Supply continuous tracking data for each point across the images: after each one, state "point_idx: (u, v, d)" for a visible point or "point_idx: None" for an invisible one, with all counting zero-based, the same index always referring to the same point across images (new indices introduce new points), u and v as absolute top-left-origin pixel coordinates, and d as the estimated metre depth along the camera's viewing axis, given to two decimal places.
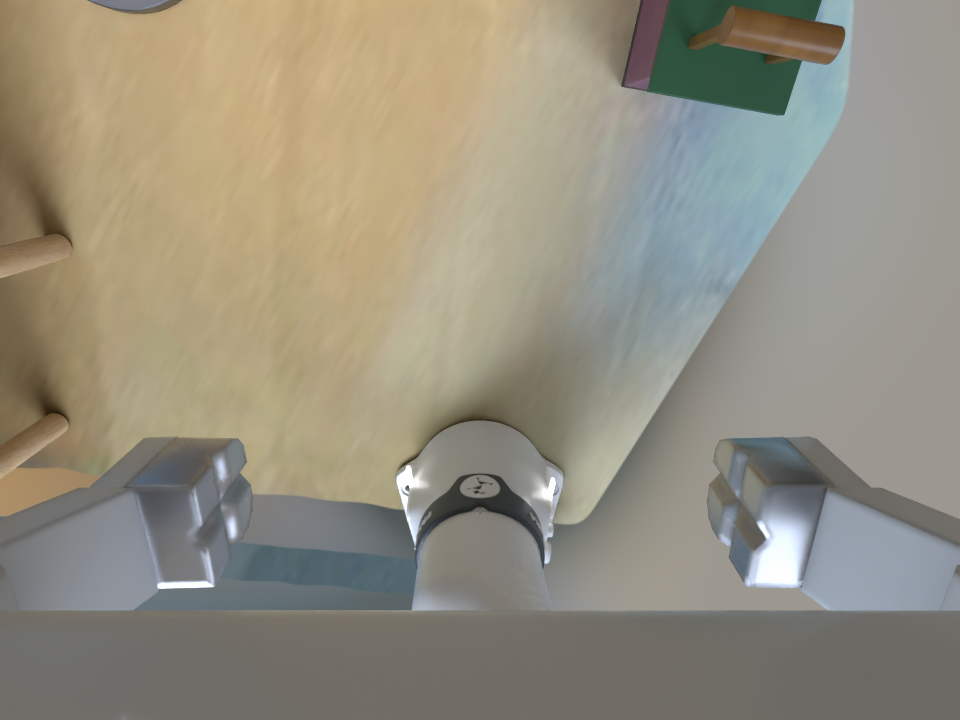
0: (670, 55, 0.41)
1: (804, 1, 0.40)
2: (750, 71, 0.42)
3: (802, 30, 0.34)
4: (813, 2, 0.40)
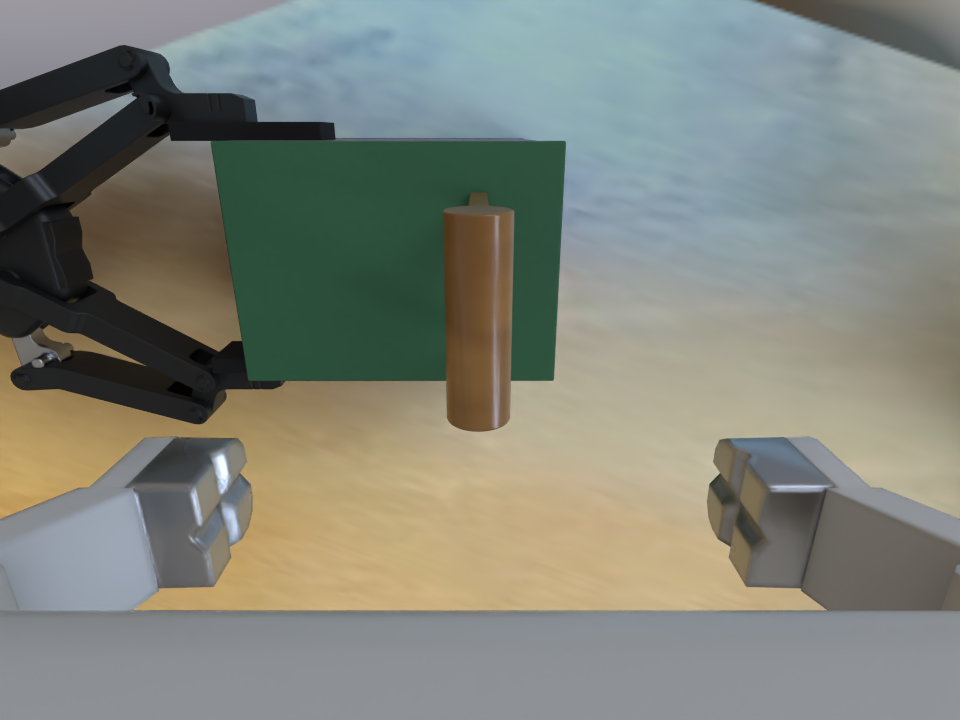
0: None
1: (384, 172, 0.23)
2: None
3: (469, 305, 0.17)
4: (382, 155, 0.23)
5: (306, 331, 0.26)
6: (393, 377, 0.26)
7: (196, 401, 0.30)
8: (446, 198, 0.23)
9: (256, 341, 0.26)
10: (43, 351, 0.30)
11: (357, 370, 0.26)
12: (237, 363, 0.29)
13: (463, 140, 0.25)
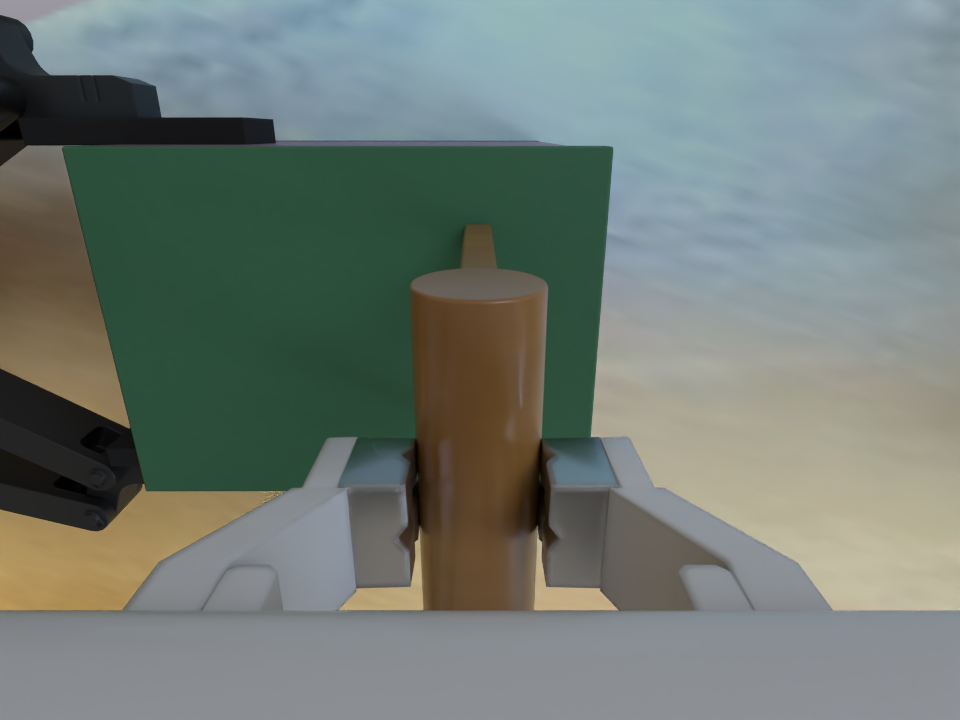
0: None
1: (333, 193, 0.15)
2: None
3: (461, 466, 0.09)
4: (329, 168, 0.15)
5: (226, 424, 0.17)
6: None
7: (92, 500, 0.22)
8: (429, 233, 0.15)
9: (153, 438, 0.18)
10: None
11: (303, 477, 0.18)
12: None
13: None
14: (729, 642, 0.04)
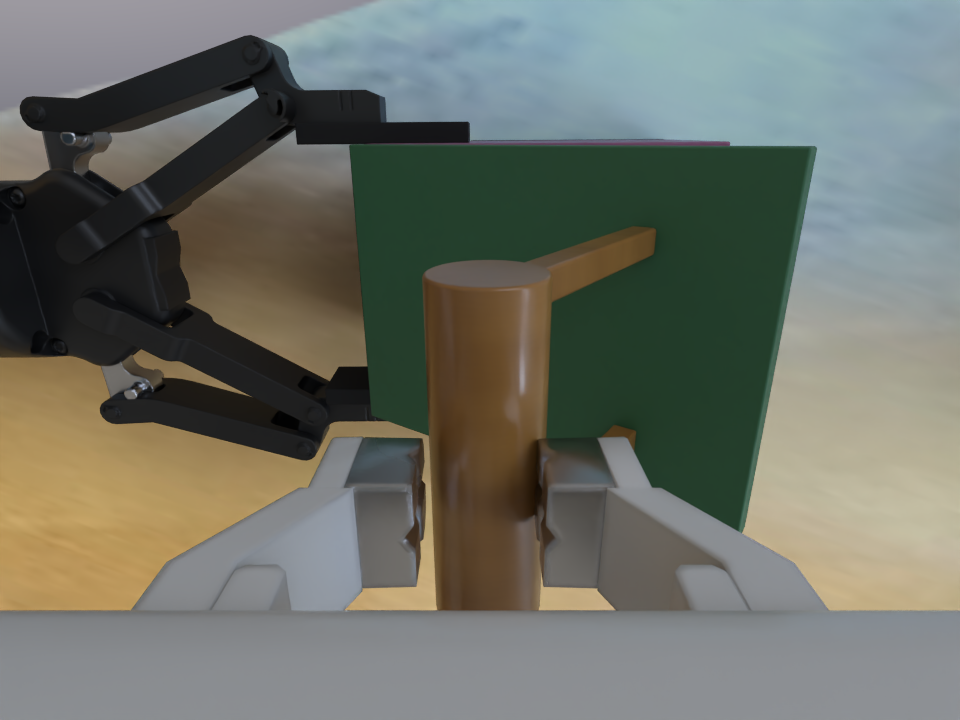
0: None
1: (518, 188, 0.16)
2: (678, 291, 0.15)
3: (441, 435, 0.10)
4: (517, 165, 0.16)
5: (424, 377, 0.21)
6: None
7: (304, 435, 0.27)
8: (596, 232, 0.15)
9: (379, 375, 0.22)
10: (136, 380, 0.27)
11: None
12: (354, 393, 0.26)
13: None
14: (729, 642, 0.04)
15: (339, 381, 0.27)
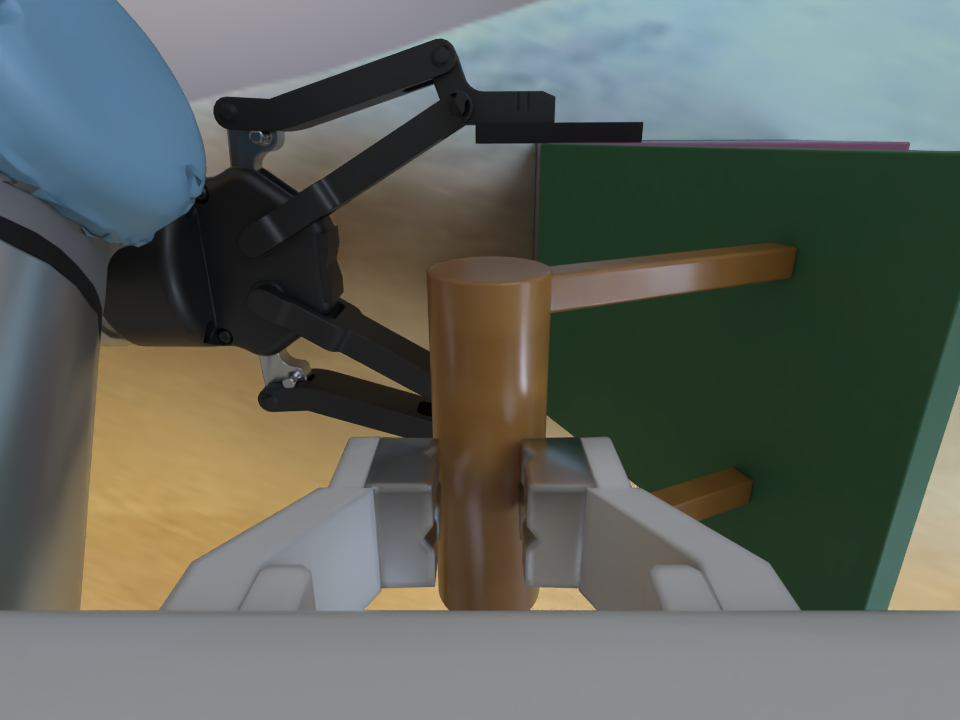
0: (763, 555, 0.14)
1: (668, 192, 0.15)
2: (815, 325, 0.12)
3: None
4: (669, 168, 0.15)
5: (573, 375, 0.21)
6: (633, 479, 0.19)
7: None
8: (735, 246, 0.14)
9: None
10: (291, 370, 0.28)
11: None
12: None
13: None
14: (728, 642, 0.04)
15: None
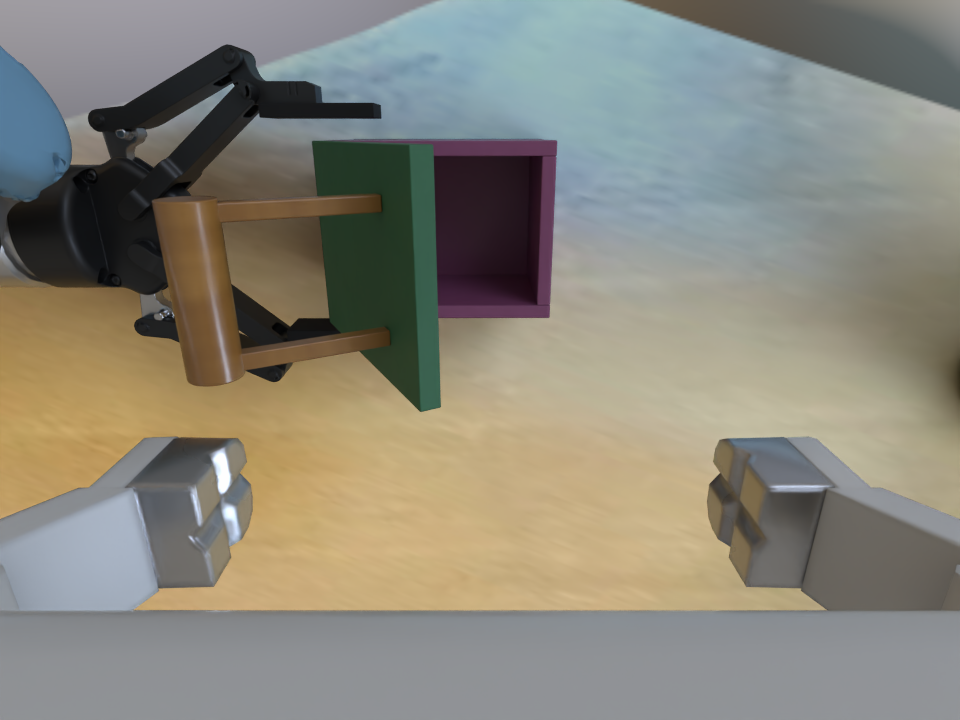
0: (397, 373, 0.25)
1: (350, 169, 0.26)
2: (390, 235, 0.23)
3: None
4: (348, 154, 0.26)
5: (339, 294, 0.32)
6: (363, 353, 0.29)
7: None
8: None
9: (329, 293, 0.34)
10: (162, 308, 0.38)
11: None
12: (307, 333, 0.38)
13: None
14: (729, 642, 0.04)
15: (297, 326, 0.39)
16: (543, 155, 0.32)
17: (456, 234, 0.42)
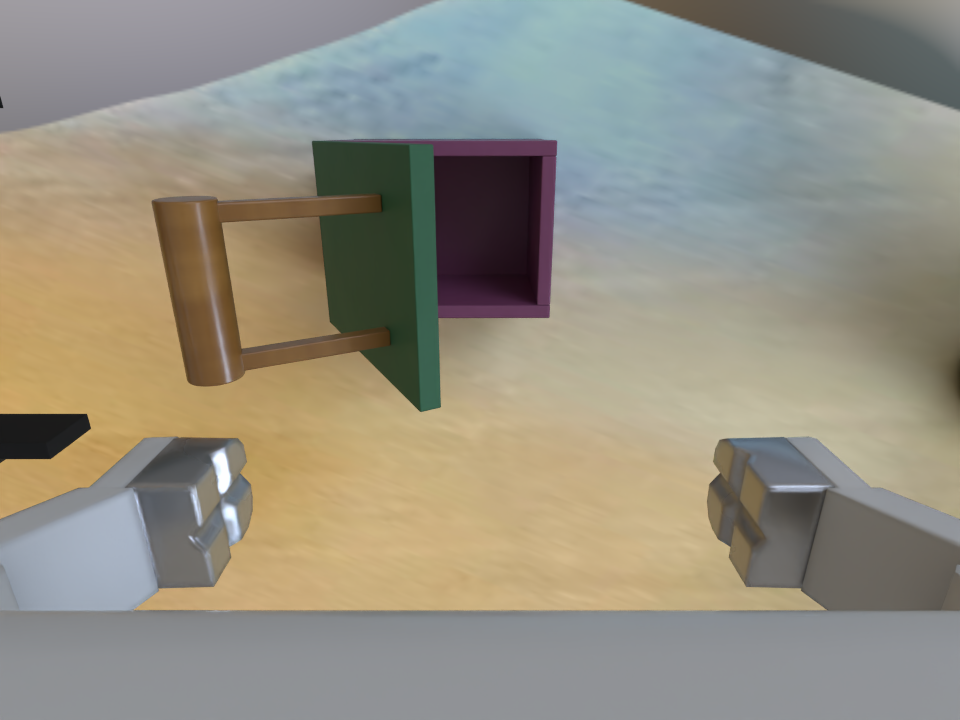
0: (397, 373, 0.25)
1: (350, 169, 0.26)
2: (390, 235, 0.23)
3: None
4: (348, 154, 0.26)
5: (339, 294, 0.32)
6: (363, 353, 0.29)
7: None
8: None
9: (329, 293, 0.34)
10: None
11: None
12: None
13: None
14: (729, 642, 0.04)
15: None
16: (543, 155, 0.32)
17: (456, 234, 0.42)
